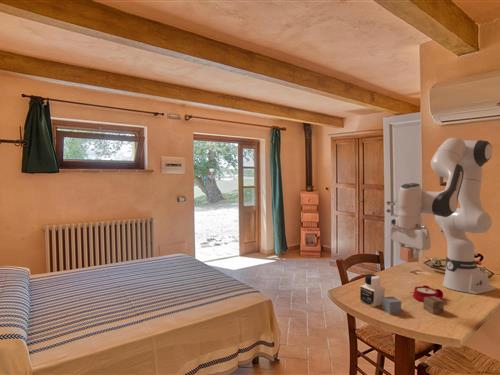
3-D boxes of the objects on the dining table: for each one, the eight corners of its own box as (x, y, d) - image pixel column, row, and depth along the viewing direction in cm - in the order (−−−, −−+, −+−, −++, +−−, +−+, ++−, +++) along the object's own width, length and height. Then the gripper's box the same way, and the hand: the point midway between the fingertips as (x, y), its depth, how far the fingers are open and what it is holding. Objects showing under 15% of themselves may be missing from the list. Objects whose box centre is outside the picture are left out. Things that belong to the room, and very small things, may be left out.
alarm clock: (406, 290, 143) (424, 277, 151) (408, 302, 144) (425, 289, 152) (430, 297, 134) (447, 283, 142) (431, 311, 135) (448, 296, 143)
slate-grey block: (393, 308, 132) (393, 296, 132) (400, 313, 127) (401, 301, 127) (382, 309, 131) (382, 297, 131) (389, 314, 126) (389, 302, 126)
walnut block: (434, 308, 132) (434, 296, 132) (443, 313, 128) (443, 301, 127) (423, 309, 132) (423, 297, 131) (432, 314, 127) (433, 302, 126)
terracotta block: (410, 258, 135) (410, 246, 135) (418, 261, 130) (418, 249, 130) (399, 259, 134) (399, 247, 134) (407, 262, 129) (407, 250, 129)
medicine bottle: (359, 301, 139) (360, 274, 138) (371, 298, 142) (371, 272, 142) (373, 307, 133) (373, 279, 132) (384, 304, 136) (385, 276, 136)
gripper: (435, 226, 122) (434, 262, 122) (400, 218, 142) (400, 249, 142) (420, 227, 121) (420, 263, 121) (387, 219, 141) (387, 250, 141)
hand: (409, 255), depth 132 cm, fingers closed on terracotta block, 5 cm apart
